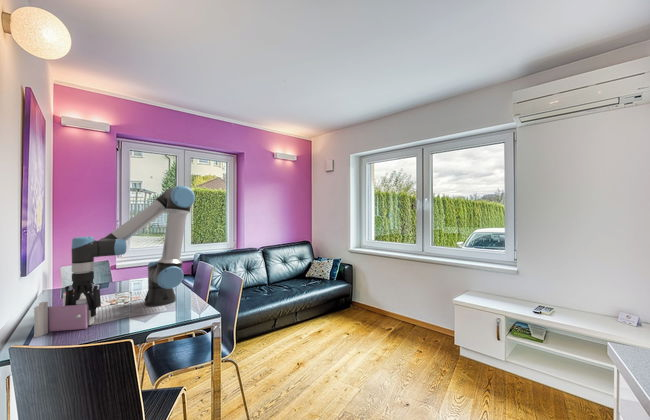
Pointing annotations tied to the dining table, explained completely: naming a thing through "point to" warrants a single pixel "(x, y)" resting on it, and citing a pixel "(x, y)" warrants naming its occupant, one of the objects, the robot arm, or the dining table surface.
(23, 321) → the dining table surface
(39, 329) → the wall
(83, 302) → the pill bottle
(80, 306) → the door
